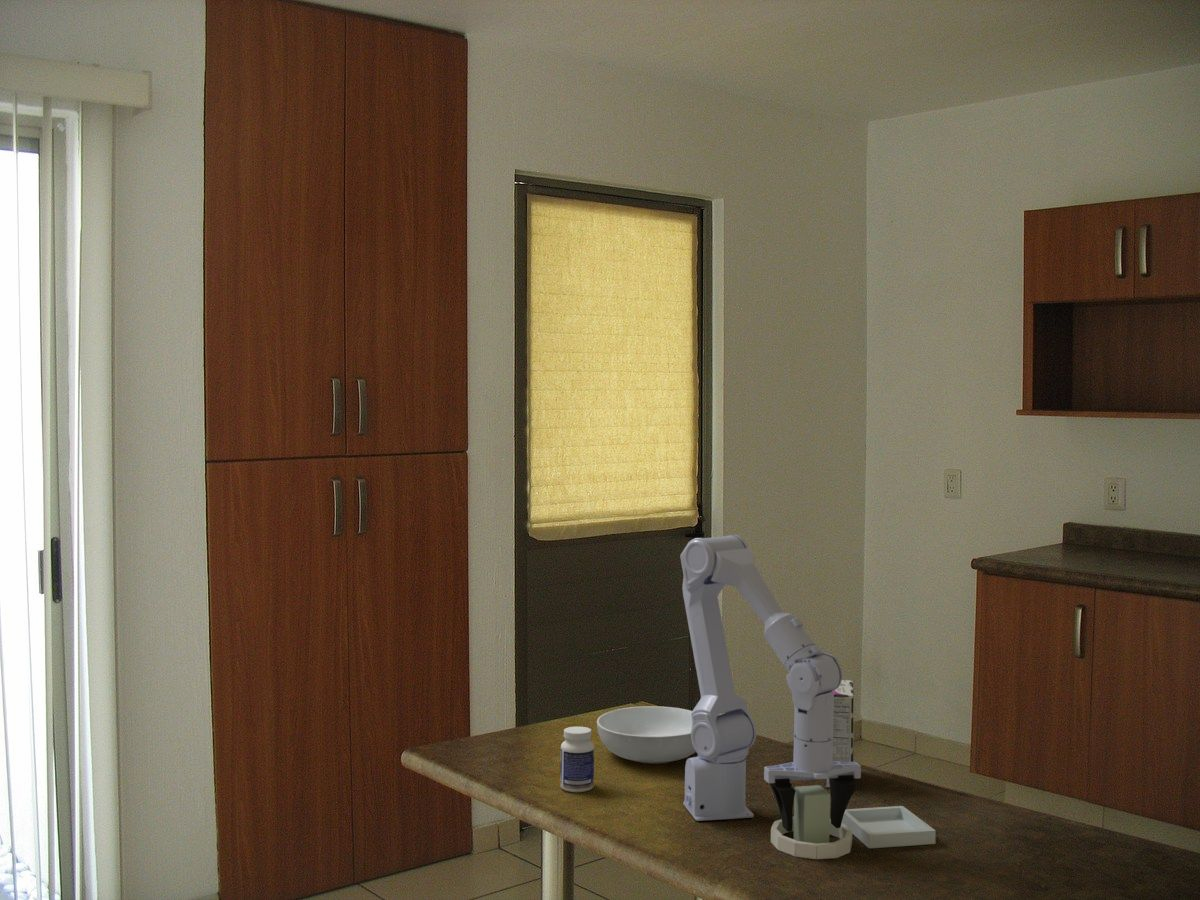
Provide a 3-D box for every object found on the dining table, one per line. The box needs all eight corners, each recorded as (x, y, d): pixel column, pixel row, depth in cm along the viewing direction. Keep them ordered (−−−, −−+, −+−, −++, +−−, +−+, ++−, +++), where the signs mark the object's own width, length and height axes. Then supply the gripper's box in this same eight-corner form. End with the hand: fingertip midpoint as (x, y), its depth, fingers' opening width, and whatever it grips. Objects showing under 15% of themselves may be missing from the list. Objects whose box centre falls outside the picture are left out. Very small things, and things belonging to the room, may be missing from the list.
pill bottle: (600, 789, 188) (601, 731, 188) (572, 795, 185) (572, 736, 185) (581, 780, 193) (582, 723, 193) (553, 786, 190) (554, 728, 190)
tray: (869, 848, 164) (869, 835, 164) (839, 822, 174) (839, 809, 174) (935, 843, 166) (935, 830, 166) (902, 818, 177) (902, 805, 177)
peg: (803, 849, 163) (804, 795, 163) (793, 839, 167) (794, 786, 167) (829, 847, 164) (830, 794, 164) (818, 837, 168) (819, 785, 168)
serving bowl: (636, 733, 222) (637, 699, 222) (729, 753, 210) (729, 717, 209) (573, 759, 205) (574, 722, 205) (670, 782, 193) (670, 743, 192)
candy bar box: (823, 768, 201) (825, 678, 201) (851, 770, 200) (853, 679, 200) (823, 788, 190) (825, 693, 190) (853, 790, 189) (855, 695, 189)
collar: (788, 861, 159) (788, 847, 159) (760, 831, 170) (761, 818, 170) (864, 855, 161) (864, 842, 161) (832, 826, 173) (832, 813, 173)
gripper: (776, 746, 160) (774, 840, 160) (870, 742, 163) (868, 834, 163) (759, 733, 167) (758, 822, 167) (850, 728, 170) (848, 816, 170)
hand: (811, 827), depth 166 cm, fingers open, 7 cm apart
